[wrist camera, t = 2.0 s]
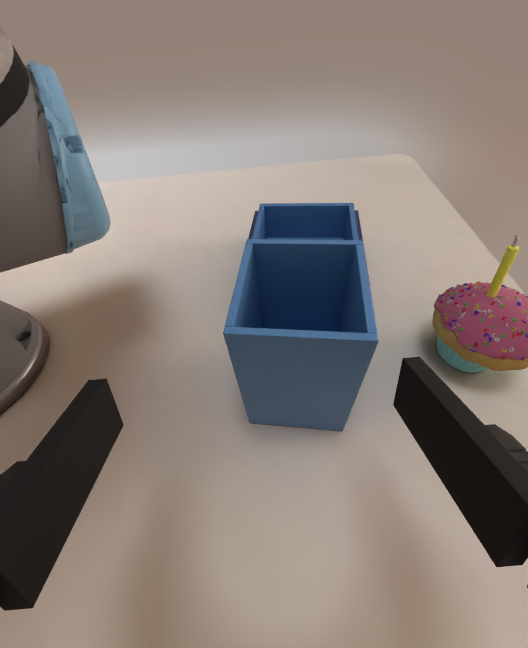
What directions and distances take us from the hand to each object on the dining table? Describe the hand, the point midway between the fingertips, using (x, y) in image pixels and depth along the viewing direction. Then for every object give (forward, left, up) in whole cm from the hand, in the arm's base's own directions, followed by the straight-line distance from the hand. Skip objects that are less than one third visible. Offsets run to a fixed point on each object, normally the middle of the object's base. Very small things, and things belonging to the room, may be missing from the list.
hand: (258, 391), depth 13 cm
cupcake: (+14, +16, -13) cm, 25 cm away
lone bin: (0, +8, -13) cm, 15 cm away
